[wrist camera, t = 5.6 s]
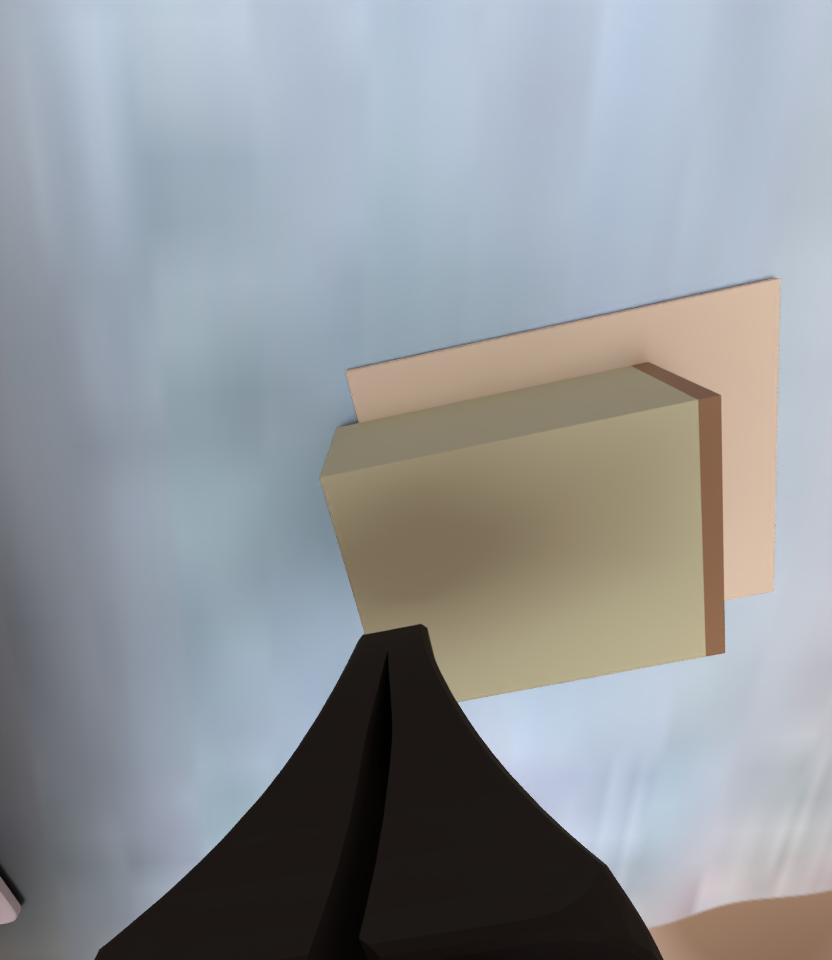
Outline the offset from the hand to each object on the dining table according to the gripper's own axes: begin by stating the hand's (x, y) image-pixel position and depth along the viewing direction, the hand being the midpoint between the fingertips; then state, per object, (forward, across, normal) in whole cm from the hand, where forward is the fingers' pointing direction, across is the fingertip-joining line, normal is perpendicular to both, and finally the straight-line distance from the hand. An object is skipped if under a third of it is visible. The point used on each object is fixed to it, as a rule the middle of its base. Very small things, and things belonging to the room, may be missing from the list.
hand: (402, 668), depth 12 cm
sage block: (+5, +1, 0) cm, 5 cm away
